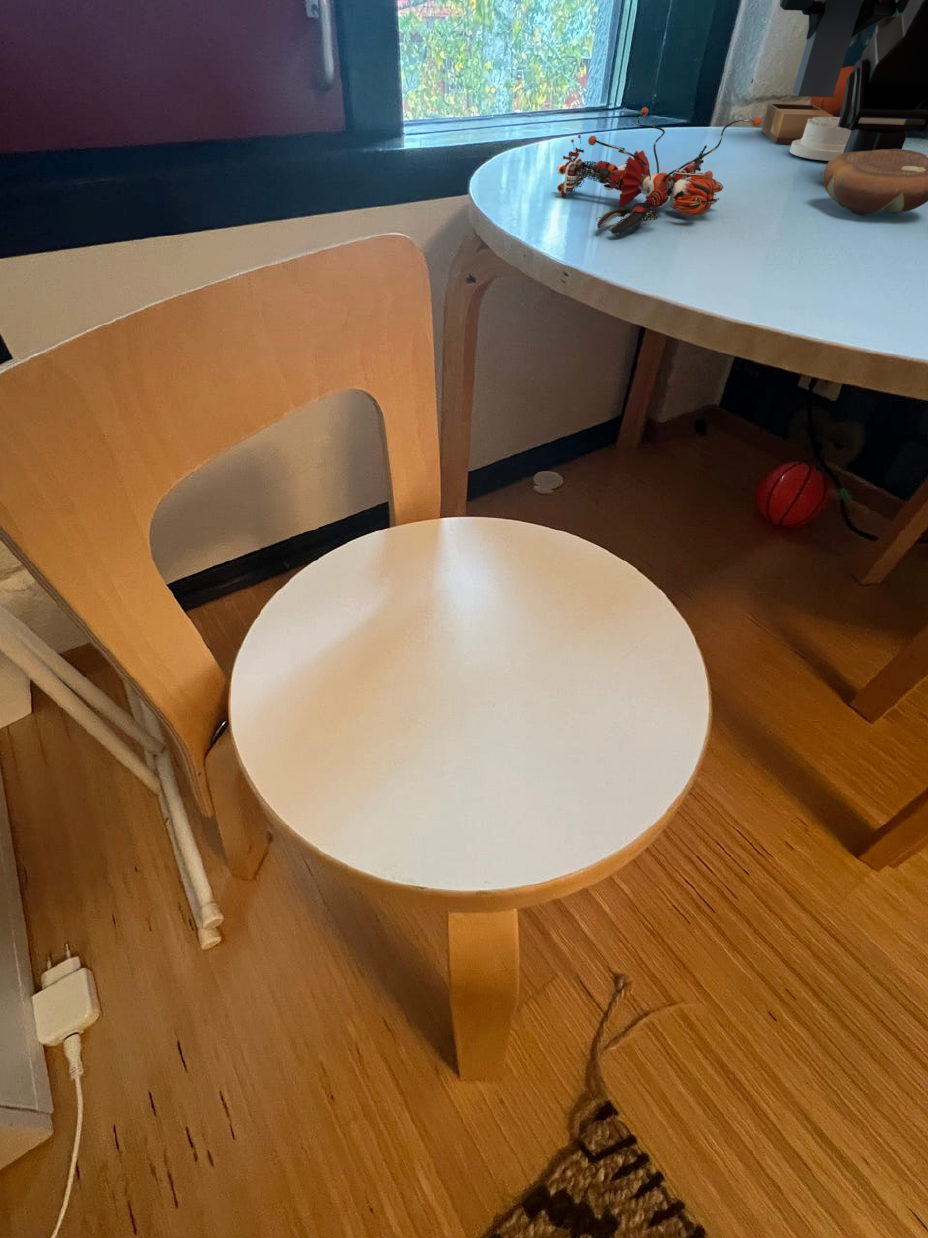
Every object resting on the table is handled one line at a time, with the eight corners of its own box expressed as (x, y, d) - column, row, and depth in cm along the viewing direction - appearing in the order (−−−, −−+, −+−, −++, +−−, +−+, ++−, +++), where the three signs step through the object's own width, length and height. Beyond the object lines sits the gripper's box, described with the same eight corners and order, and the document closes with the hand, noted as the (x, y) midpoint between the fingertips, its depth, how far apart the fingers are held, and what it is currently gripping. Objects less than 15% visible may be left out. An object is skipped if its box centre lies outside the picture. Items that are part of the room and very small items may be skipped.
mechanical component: (822, 165, 95) (877, 161, 98) (834, 127, 92) (891, 123, 95) (774, 151, 102) (826, 148, 105) (784, 115, 99) (838, 112, 102)
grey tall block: (832, 97, 101) (870, -24, 92) (798, 95, 102) (832, -25, 93) (825, 93, 104) (861, -24, 95) (792, 92, 104) (824, -25, 95)
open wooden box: (823, 145, 106) (833, 115, 103) (775, 143, 107) (784, 113, 104) (805, 133, 114) (814, 104, 111) (761, 131, 114) (768, 103, 111)
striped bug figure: (497, 231, 74) (666, 280, 68) (501, 137, 68) (691, 181, 61) (597, 161, 88) (747, 197, 81) (610, 76, 81) (775, 107, 74)
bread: (908, 141, 78) (889, 191, 82) (813, 151, 77) (799, 201, 81) (972, 170, 71) (949, 223, 75) (869, 181, 70) (850, 234, 74)
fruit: (807, 117, 125) (823, 61, 120) (859, 122, 122) (878, 64, 117) (800, 124, 119) (817, 65, 114) (855, 129, 117) (875, 69, 111)
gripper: (970, -139, 83) (897, -17, 99) (813, -141, 84) (764, -20, 100) (964, -49, 83) (891, 59, 99) (806, -52, 84) (759, 55, 100)
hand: (826, 36), depth 99 cm, fingers closed on grey tall block, 5 cm apart
